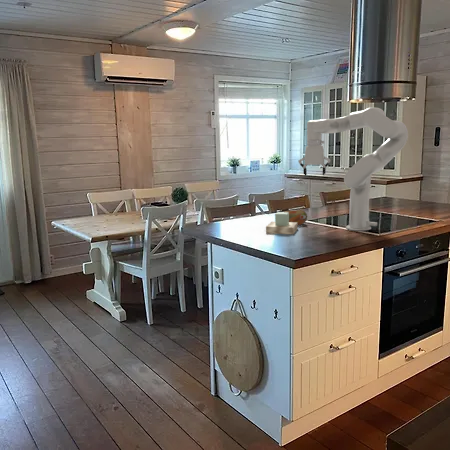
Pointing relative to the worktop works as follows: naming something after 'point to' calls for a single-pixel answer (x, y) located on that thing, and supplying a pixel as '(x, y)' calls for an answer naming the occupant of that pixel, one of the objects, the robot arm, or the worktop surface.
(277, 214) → the sage cube
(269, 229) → the birch block
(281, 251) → the worktop surface
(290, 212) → the tin
